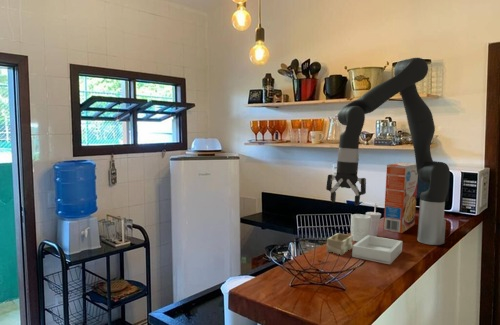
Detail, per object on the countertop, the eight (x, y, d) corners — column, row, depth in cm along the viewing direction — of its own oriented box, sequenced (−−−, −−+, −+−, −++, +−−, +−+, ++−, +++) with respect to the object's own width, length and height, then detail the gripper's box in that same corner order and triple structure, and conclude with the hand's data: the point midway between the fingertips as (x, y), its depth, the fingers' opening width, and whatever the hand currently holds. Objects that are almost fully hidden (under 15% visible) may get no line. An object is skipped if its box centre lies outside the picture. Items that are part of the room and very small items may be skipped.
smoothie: (381, 238, 164) (382, 205, 163) (365, 236, 165) (366, 204, 164) (379, 234, 170) (380, 202, 169) (363, 233, 172) (365, 201, 171)
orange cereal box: (401, 233, 173) (405, 166, 171) (383, 230, 178) (387, 164, 176) (414, 224, 192) (418, 163, 189) (397, 221, 196) (401, 162, 194)
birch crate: (337, 245, 152) (337, 232, 152) (352, 248, 149) (352, 235, 148) (326, 252, 143) (326, 239, 142) (342, 255, 140) (342, 242, 139)
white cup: (345, 238, 162) (347, 214, 161) (361, 236, 165) (362, 213, 165) (358, 243, 155) (359, 218, 154) (373, 241, 158) (375, 217, 157)
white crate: (367, 245, 153) (367, 235, 153) (401, 251, 146) (402, 241, 146) (352, 256, 138) (352, 245, 138) (389, 264, 131) (390, 252, 131)
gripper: (325, 159, 145) (322, 202, 146) (364, 162, 137) (361, 208, 139) (332, 158, 151) (329, 200, 152) (369, 161, 144) (366, 205, 145)
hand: (344, 203), depth 145 cm, fingers open, 8 cm apart
